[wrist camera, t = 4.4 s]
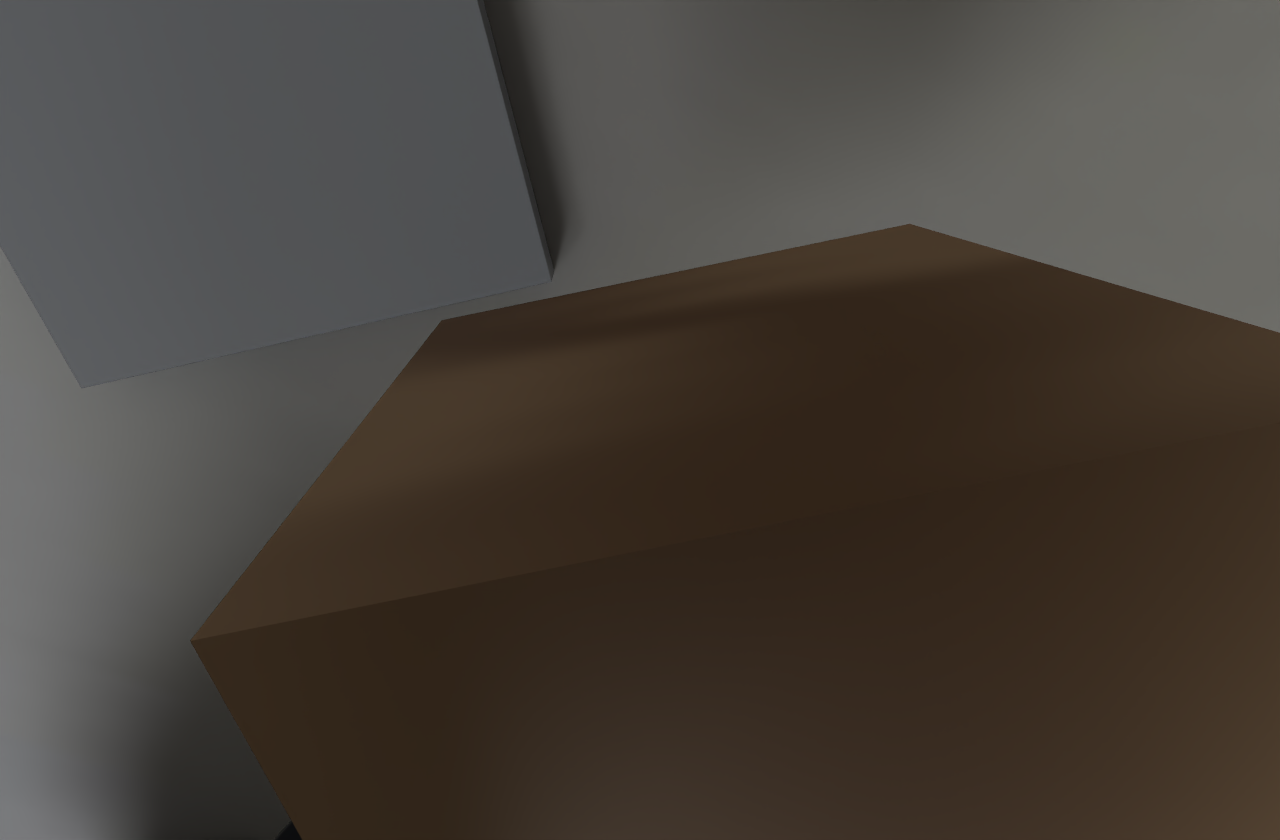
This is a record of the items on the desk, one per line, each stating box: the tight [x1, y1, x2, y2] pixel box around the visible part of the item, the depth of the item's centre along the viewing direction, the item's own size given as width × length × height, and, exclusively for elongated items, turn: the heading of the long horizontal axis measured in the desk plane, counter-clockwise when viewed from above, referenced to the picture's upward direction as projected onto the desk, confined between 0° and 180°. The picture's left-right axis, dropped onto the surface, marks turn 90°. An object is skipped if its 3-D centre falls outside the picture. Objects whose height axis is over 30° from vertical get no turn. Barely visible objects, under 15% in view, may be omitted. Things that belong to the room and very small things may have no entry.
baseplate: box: [0, 0, 554, 388], centre depth 14 cm, size 11×11×1 cm
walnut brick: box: [190, 224, 1280, 840], centre depth 6 cm, size 5×7×5 cm
